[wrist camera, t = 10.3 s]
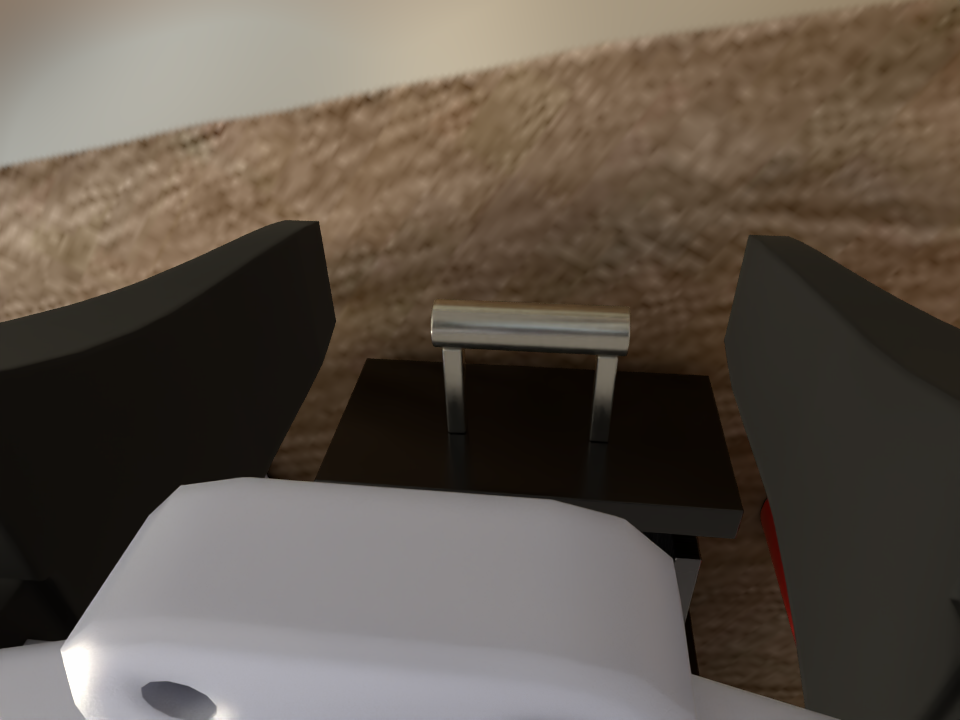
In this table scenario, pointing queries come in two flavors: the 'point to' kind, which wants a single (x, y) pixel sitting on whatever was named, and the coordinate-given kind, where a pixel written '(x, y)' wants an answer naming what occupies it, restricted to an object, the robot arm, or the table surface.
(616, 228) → the table surface
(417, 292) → the table surface
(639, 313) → the table surface
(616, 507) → the drawer
